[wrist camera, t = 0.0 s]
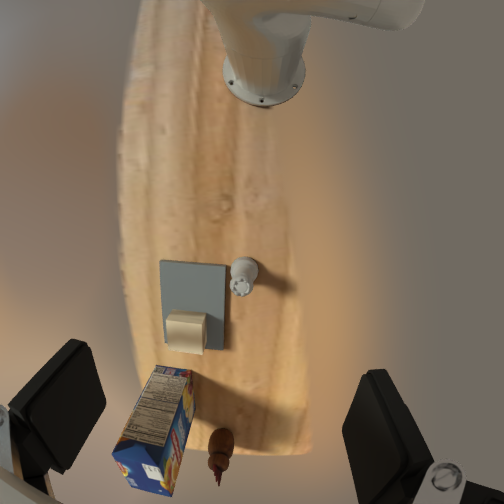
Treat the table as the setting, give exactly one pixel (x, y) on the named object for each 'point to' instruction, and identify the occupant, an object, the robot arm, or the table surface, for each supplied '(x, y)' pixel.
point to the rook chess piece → (243, 276)
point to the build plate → (195, 295)
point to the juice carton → (157, 431)
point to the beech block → (186, 331)
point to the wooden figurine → (220, 451)
